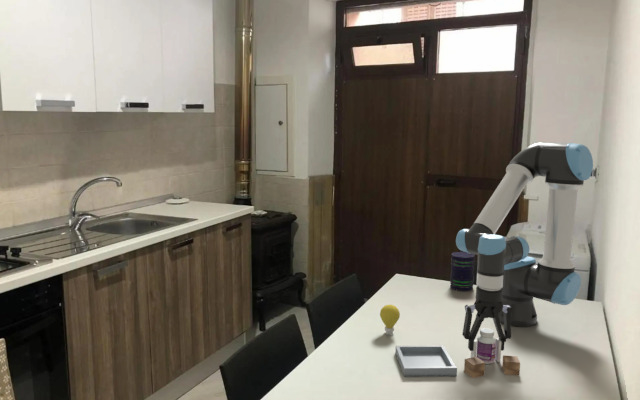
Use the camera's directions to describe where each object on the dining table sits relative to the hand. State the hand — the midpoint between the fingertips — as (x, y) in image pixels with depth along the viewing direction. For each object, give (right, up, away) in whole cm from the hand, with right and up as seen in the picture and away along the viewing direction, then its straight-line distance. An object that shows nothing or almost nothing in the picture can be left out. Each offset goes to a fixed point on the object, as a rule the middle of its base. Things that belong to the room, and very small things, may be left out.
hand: (485, 360), depth 157 cm
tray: (-19, -1, -2) cm, 19 cm away
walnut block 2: (+5, -1, -7) cm, 9 cm away
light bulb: (-26, +3, +20) cm, 33 cm away
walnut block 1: (-6, -2, -8) cm, 10 cm away
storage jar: (+12, +10, +69) cm, 70 cm away
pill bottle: (0, 0, 0) cm, 1 cm away
